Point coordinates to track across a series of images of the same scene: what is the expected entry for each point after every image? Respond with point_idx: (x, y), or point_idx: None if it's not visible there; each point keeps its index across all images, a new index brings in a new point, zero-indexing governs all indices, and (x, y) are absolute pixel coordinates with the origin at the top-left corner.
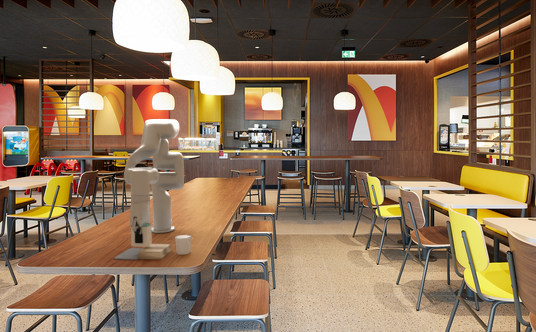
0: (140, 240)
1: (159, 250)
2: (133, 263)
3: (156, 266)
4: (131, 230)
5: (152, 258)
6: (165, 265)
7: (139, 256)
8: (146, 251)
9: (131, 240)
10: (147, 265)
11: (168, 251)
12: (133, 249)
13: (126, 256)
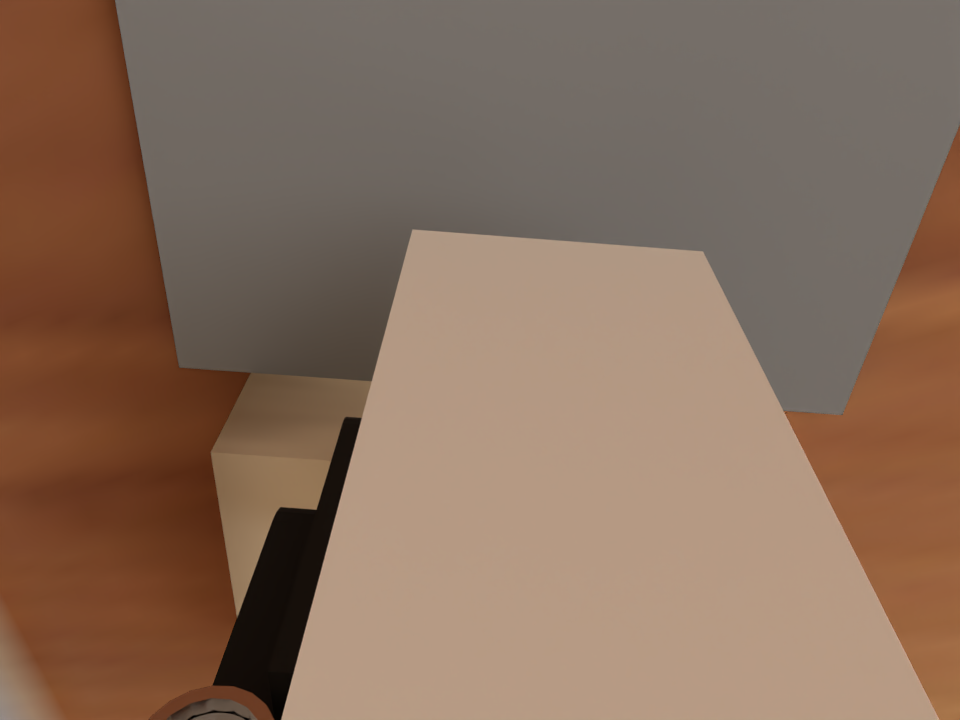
0: None
1: None
2: (8, 356)
3: (21, 651)
4: (298, 674)
5: None
6: (89, 715)
7: (242, 395)
8: (241, 570)
9: (389, 324)
10: (11, 558)
11: None
12: (859, 20)
13: (283, 84)
